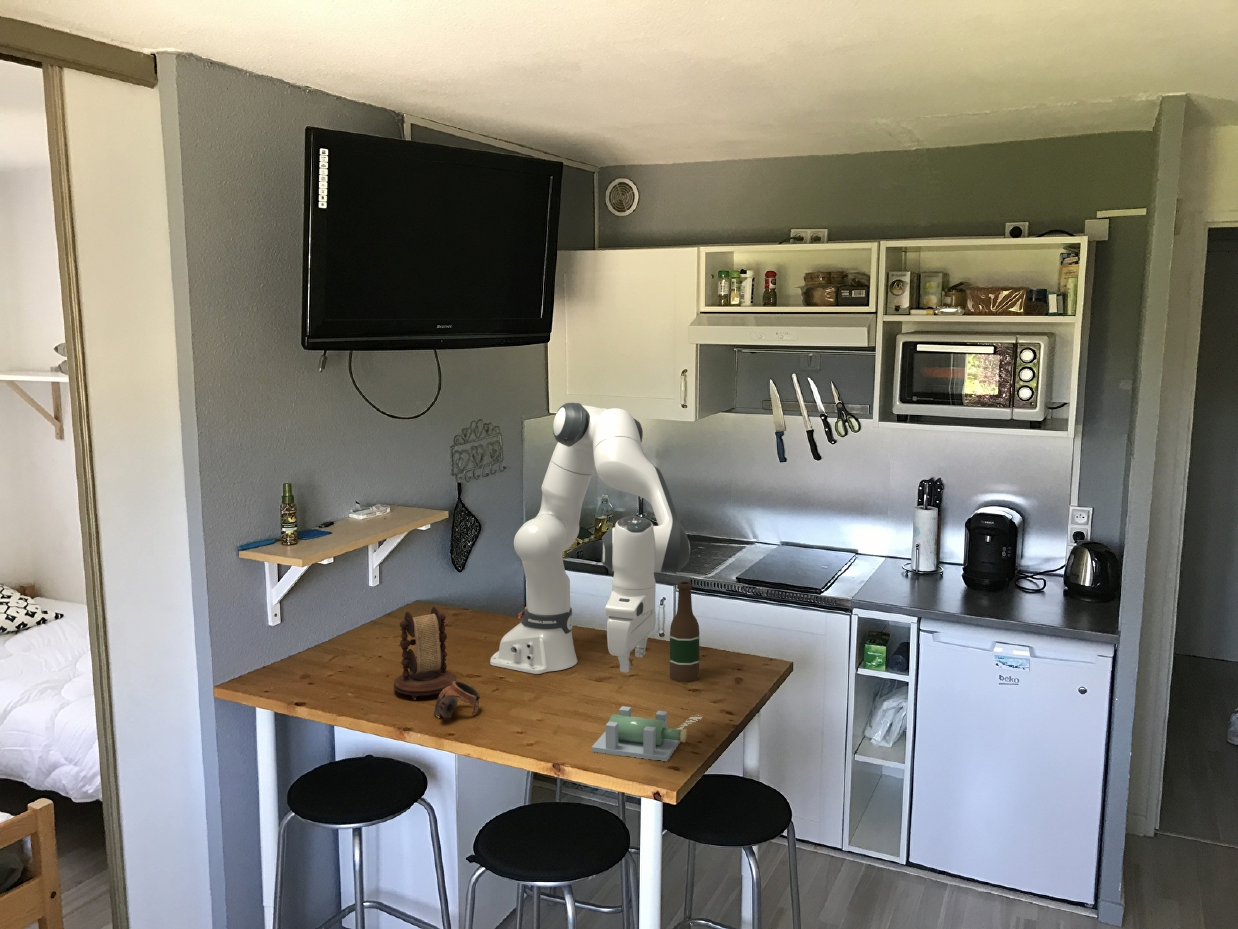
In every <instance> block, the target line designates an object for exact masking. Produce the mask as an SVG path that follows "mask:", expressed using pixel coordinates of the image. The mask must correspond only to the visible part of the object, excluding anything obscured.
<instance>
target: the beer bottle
mask: <svg viewBox="0 0 1238 929" xmlns="http://www.w3.org/2000/svg"><path fill="white" fill-rule="evenodd" d="M677 588H678V594H677V610H676V614H675V615H674V617H673V619H671V620H672V621H671V623H670V629H669V630H670V631H669V678H670V679H671V680H673V681H675V682H677V683H691V681H692V682H695V681H698V680H699V678H700V626H699V622H698V619H697V617H695V615H694V613H693V602H692V588H693V584H692V582H690V581H679V582H678V584H677Z"/></svg>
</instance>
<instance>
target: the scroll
mask: <svg viewBox="0 0 1238 929" xmlns="http://www.w3.org/2000/svg"><path fill="white" fill-rule="evenodd" d="M430 610H431V611H430V614H425V615H420V616H414V617H413V615H412V613H411V612H410V611H409V610H408V611H406V612H405V613H404V619H403V620H401V621H400V622H399V627H400V628H401V629H400V631H401V634H400V637H401V640H400V641H399V642H400V643H399V646H400V648H401V649H402V652H401V653H402V654H401V658H402V659H401V661H400V663H401V666H402V669H403V670H402V673H401V675H399V676H396V678H395V679H394V680H393V689H394V690H395V692H397V693H399V694H403V695H406V696H411V698H412V700H413V699H415V698H416V699H417V697H419V696H421V697H422V696H430V695H431V696H432V695H437V694H438V695H439V694H440V693H441V691H442V690H443V689H445V688H446V687H448V686H451V684H452V682H453V681H457V676H456V675H455V673H453V672H452V671H451V672H450V671H449V670H447V669H448V665H447V663H446V661H447V659H446V658H447V656H448V653H447V651H446V649H447V646H446V644H445V643H446V641H447V639H448V635H447V632H445V631H446V626H445V623H446V621H445V620H446V619H447V616H446V615H445V613H442V612H440V611H439V609H438V608H437V607H436V606H433V607H432V608H431V609H430ZM408 635H409V636H410V637H411V639H408ZM414 638H415V639H414ZM410 646H415V648H416V649H415V650H416V655H415V651H413V650H412V649H411V648H409V647H410Z"/></svg>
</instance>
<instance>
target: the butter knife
mask: <svg viewBox="0 0 1238 929" xmlns="http://www.w3.org/2000/svg"><path fill="white" fill-rule="evenodd" d="M697 715H698V716H699V715H700V714H697ZM702 717H703V716H702ZM702 717H691V716H690V717H688V719H693V720H696V721H697V722H699V721H698V720H697V719H700V720H702V719H703V718H702ZM696 721H692V720H690V721H687V720H686V721H685V722H695V723H696ZM682 724H684V725H682ZM682 724H681V725H680V726H687V727H689V726H688V725H687V724H686V723H684V722H683V723H682ZM688 724H691V725H693V724H692V723H688ZM680 726H679V727H680ZM683 728H684V727H680V728H678V727H677V728H676V729H683ZM684 729H685V728H684Z"/></svg>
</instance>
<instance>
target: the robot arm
mask: <svg viewBox="0 0 1238 929" xmlns="http://www.w3.org/2000/svg"><path fill="white" fill-rule="evenodd" d="M642 427H643V426H642V424H641V422H640V421H639V420H637V419H636V418H634V417H633V415H632V414H631V413H630V412H629V411H627V410H626V409H622V408H619V407H617V408H616V407H615V408H605V407H603V408H602V407H597V406H592V405H585V404H584V405H583V404H582V403H580V402H565V403H564V404H563V405H560V407H559V408H558V410H557V411H556V413H555V417H554V419H553V424H552V434H553V438H554V439H555V440H556V442H557V443H556V445H555V448H554V450H553V451H552V452H553V453H552V455H551V457H550V460H549V463H548V467H547V470H546V472H545V474H544V478H543V482H542V484H541V492H542V494H541V495H542V496H541V504H540V509H539V512H538V513H537V515H536V516H535V517H533V518H531V519H530V520H527V521H526V522H525V523H523V524H522V525H521V526H520V528H519V529H518V530H517V532H516V534H515V536H514V540H513V546H514V547H513V548H514V551H515V553H516V556H518V557H519V558H520V559H521V565H522V568H523V571H524V576H525V581H526V582H525V583H526V604H527V606H525V607H524V609H523V610H521V611H520V613H518V619H520V622H519V623H518V624H517V625H516V626H514V627H513V628H511V629H510V630H509V631H508V632H507V633H505V634H504V635H503V637H502V638H501V640H500V643H499V649H498V651H496V652H495V653H493V655H492V656H491V657H490V661H489V663H490V665H491V666H494V667H498V668H503V669H507V670H514V671H519V672H524V673H527V674H528V673H529V674H535V675H539V674H543V673H547V672H555V671H561V670H566V669H570V668H572V667H574V666H576V664H577V663H578V658H577V655H576V651H575V645H574V641H573V632H572V630H573V625H574V624H573V622H574V620H573V619H574V618H573V609H572V607H571V581H570V577H569V576H568V574H567V572H566V569H565V565H564V560H563V553H564V551H566V550H568V549H569V548H571V546H572V545H573V544H574V543H575V541H576V539H577V537H578V536H579V533H580V519H581V512H582V507H583V503H584V499H585V496H586V493H587V490H588V488H589V484H590V482H591V479H592V477H593V474H594V470H595V471H596V474H597V475H598V478H599V479H600V480H601V481H602V482H603V483H604V484H606V485H607V486H608V487H610V488H612V489H615V490H617V491H621V492H624V493H625V492H626V493H629V494H631V495H635V496H638V497H639V498H642V499H644V500H646V501H647V502H648V503H649V504H650V506H651V507H652V511H653V513H654V516H655V519H656V522H657V525H654V524H653V523H652V521H651V520H650V519H647V518H646V517H641V516H633V515H632V516H630V515H629V516H626V517H622V518H619V519H618V520H617V521H616V523H615V526H614V527H611V528H610V529H608V530H607V531H606V532H605V533H604V534H603V536H602V537H601V540H602V554H601V564H602V565H603V566H605V568H607V569H608V570H609V571H611V572H613V576H612V577H613V578H612V581H611V592H610V596H609V598H608V601H607V603H606V605H605V607H604V614H605V616H607V617H608V618H607V621H606V622H607V624H606V635H607V636H606V638H607V649H608V652H609V654H610V655H611V656H614V657H615V656H616V657H617V659H618V662H619V670H620V672H621V673H629V671H631V669H632V668H631V664H632V663H631V661H630V656H631V655H630V653H631V652H632V651H633V650H634V652H635V653H634V656H635V657H636V658H639V659H640V658H643V657H644V656H645V655H646V646H647V642H648V638H649V637H648V636H649V635H650V633H652V632H653V631H654V630H655V627H656V622H657V621H656V620H657V619H656V618H657V617H656V616H657V614H656V593H657V592H656V586H657V585H656V584H657V582H656V579H655V578H656V577H655V572H660V573H668V574H676V573H678V572H679V571H680V570H682V569H683V568H684V567H685V566H686V565H687V564H688V562H690V556H691V546H690V545H691V544H690V540H689V539H688V535H687V533H686V530H685V528H684V527H683V525H682V522H681V521H680V518H679V515H678V512H677V509H676V507H675V504H674V501H673V499H672V496H671V493H670V491H669V490H670V489H669V488H668V485H667V483H666V480H665V477H664V476H663V473H662V471H661V469H660V468H659V467H657V466H655V465H653V464H652V463H651V462H650V461H649V460H648V459H647V457H646V456H645V455H644V451H643V446H642V442H643V437H644V436H643V435H644V434H643V433H644V432H643V428H642Z"/></svg>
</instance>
